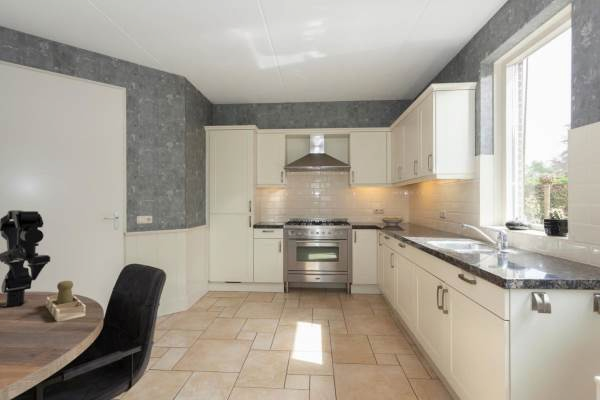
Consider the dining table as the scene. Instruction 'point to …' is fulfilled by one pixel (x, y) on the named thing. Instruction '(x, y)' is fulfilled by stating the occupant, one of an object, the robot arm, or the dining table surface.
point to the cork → (64, 292)
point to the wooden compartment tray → (65, 308)
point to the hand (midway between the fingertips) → (25, 279)
